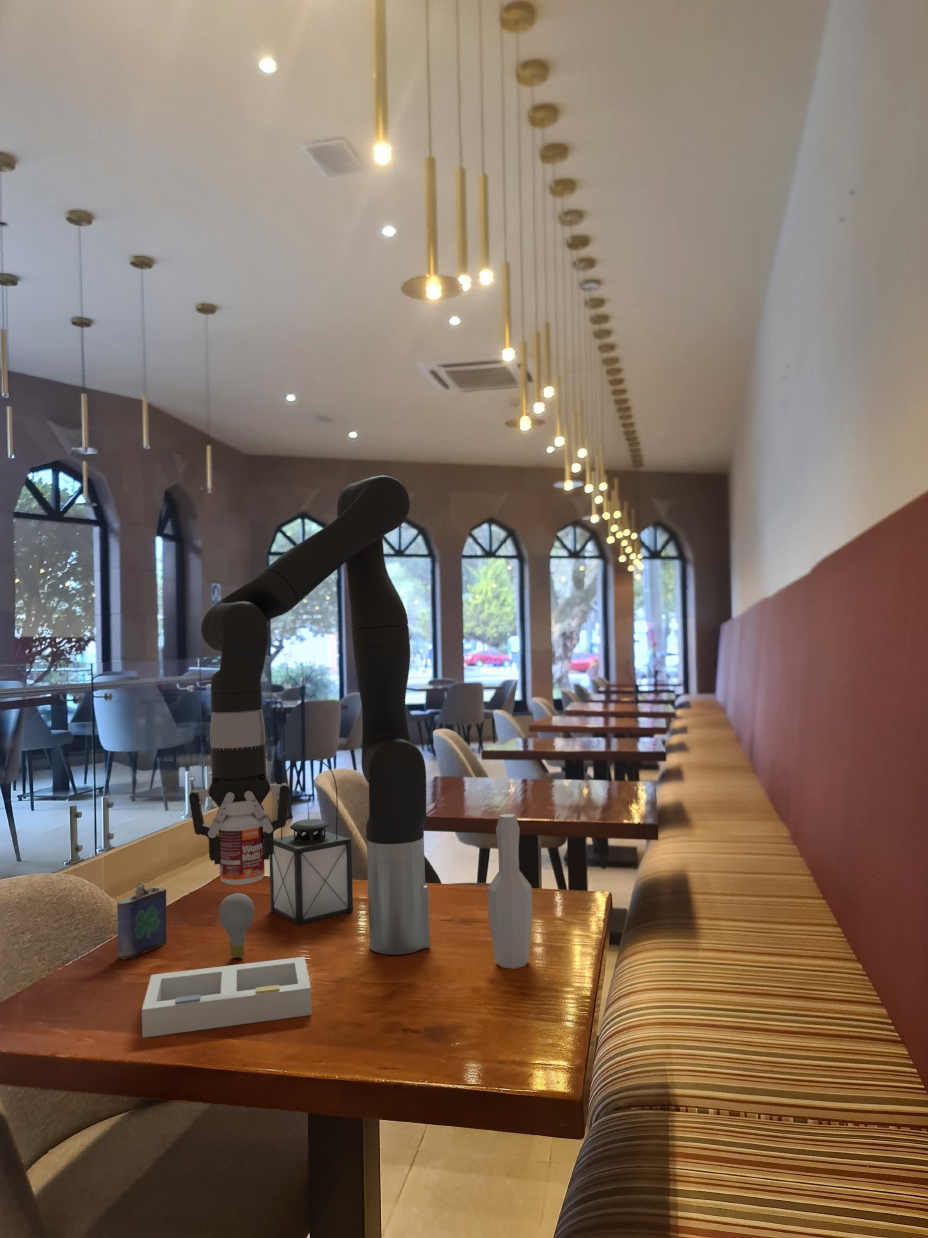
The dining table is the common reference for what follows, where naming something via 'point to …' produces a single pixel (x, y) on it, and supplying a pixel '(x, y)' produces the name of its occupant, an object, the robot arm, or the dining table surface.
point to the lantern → (311, 872)
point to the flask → (141, 922)
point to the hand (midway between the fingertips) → (242, 860)
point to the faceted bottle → (510, 900)
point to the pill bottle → (241, 845)
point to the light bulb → (236, 920)
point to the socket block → (226, 996)
